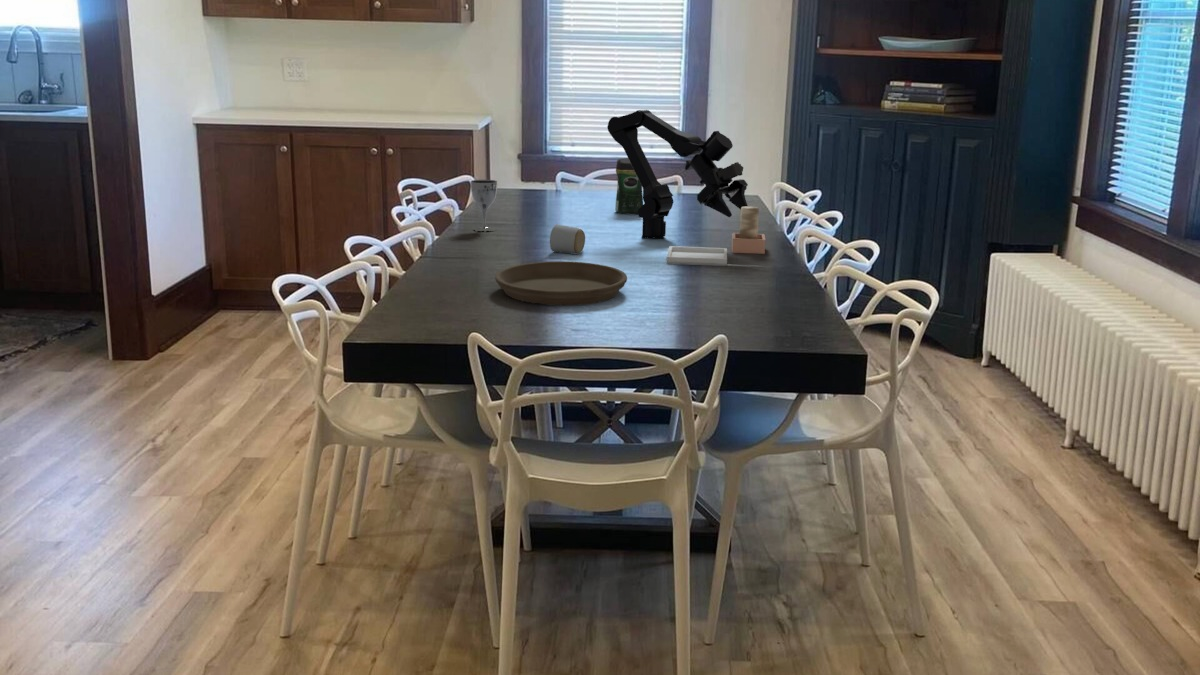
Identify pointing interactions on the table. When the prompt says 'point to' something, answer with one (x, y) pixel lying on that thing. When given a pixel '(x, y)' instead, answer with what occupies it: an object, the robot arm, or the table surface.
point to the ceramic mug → (567, 239)
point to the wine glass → (484, 195)
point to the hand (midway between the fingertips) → (739, 214)
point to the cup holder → (748, 244)
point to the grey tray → (697, 256)
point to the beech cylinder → (749, 222)
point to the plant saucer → (561, 282)
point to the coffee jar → (627, 188)
